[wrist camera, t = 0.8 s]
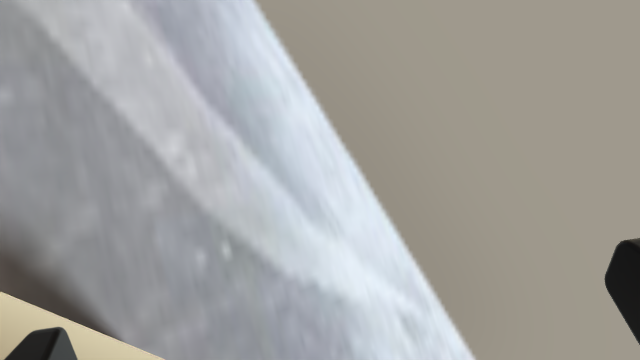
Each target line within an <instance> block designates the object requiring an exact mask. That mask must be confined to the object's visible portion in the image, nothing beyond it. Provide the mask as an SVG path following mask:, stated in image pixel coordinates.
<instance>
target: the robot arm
mask: <svg viewBox="0 0 640 360" xmlns="http://www.w3.org/2000/svg"><path fill="white" fill-rule="evenodd" d="M605 285H606V288H607V290H608V292H609V294H610V296H611V297H612V299H613V301H614V302H615V304H616V306H617V307H618V309H619V311H620V312H621V314H622V316H623V318H624V319H625V321H626V323H627V324H628V326H629V328H630V329H631V331H632V333H633V335H634V336H635V338H636V340H637V341H638V343H639V345H640V238H638V239H630V240H624V241H621V242H620V243H619V244H618V245H617V246H616V249H615V251H614V253H613V256H612V259H611V262H610V264H609V267H608V269H607V272H606V274H605ZM4 360H78V359H77V356H76V354H75V351H74V349H73V346H72V344H71V341H70V339H69V336H68V334H67V332H66V330H65V329H64V328H62V327H53V328H46V329H40V330H35V331H32V332H31V333H29V334H28V335H27V336H26V337H25V338H24V339H23V340H22V341H21V342H20V343H19V344H18V345H17V346H16V347H15V348H14V349H13V351H12V352H11V353H10V354H9V355H8V356H7V357H6V358H5V359H4Z"/></svg>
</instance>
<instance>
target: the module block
mask: <svg viewBox="0 0 640 360" xmlns="http://www.w3.org/2000/svg"><path fill="white" fill-rule="evenodd" d="M53 327H62V328H64V329H65V330H66V332H67V334H68V336H69V339H70V341H71V344H72V346H73V349H74V351H75V354H76V356H77V359H78V360H165V359H162V358H160V357H158V356H155V355H153V354H150V353H148V352H145V351H143V350H141V349H138V348H136V347H133V346H131V345H129V344H126V343H124V342H121V341H119V340H116V339H114V338H112V337H109V336H107V335H104V334H102V333H100V332H97V331H95V330H92V329H90V328H87V327H85V326H83V325H80V324H78V323H75V322H73V321H71V320H68V319H66V318H63V317H61V316H58V315H56V314H54V313H51V312H49V311H46V310H44V309H42V308H39V307H37V306H34V305H32V304H29V303H27V302H25V301H22V300H20V299H17V298H15V297H13V296H10V295H8V294H5V293H3V292H0V360H4V359H5V358H6V357H7V356H8V355H9V354H10V353H11V352H12V351H13V349H14V348H15V347H16V346H17V345H18V344H19V343H20V342H21V341H22V340H23V339H24V338H25V337H26V336H27V335H28V334H29V333H31V332H32V331H35V330H40V329H46V328H53Z"/></svg>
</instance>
